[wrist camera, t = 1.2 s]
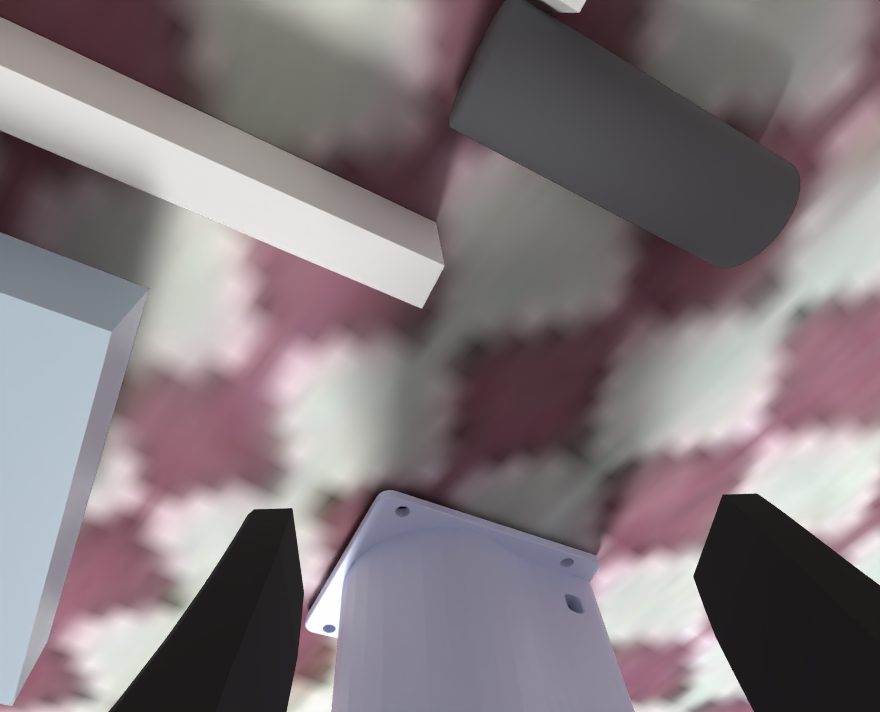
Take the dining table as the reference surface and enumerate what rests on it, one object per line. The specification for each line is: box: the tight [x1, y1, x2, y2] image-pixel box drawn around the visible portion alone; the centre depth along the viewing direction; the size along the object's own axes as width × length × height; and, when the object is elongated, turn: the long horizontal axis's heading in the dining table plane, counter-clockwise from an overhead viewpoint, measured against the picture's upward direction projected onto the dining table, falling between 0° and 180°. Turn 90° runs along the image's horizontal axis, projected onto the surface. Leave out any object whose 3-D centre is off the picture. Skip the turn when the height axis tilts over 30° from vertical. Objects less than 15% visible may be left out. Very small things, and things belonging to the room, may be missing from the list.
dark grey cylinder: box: [449, 0, 800, 268], centre depth 14 cm, size 8×3×3 cm
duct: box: [0, 0, 586, 309], centre depth 11 cm, size 15×10×6 cm, turn 63°
